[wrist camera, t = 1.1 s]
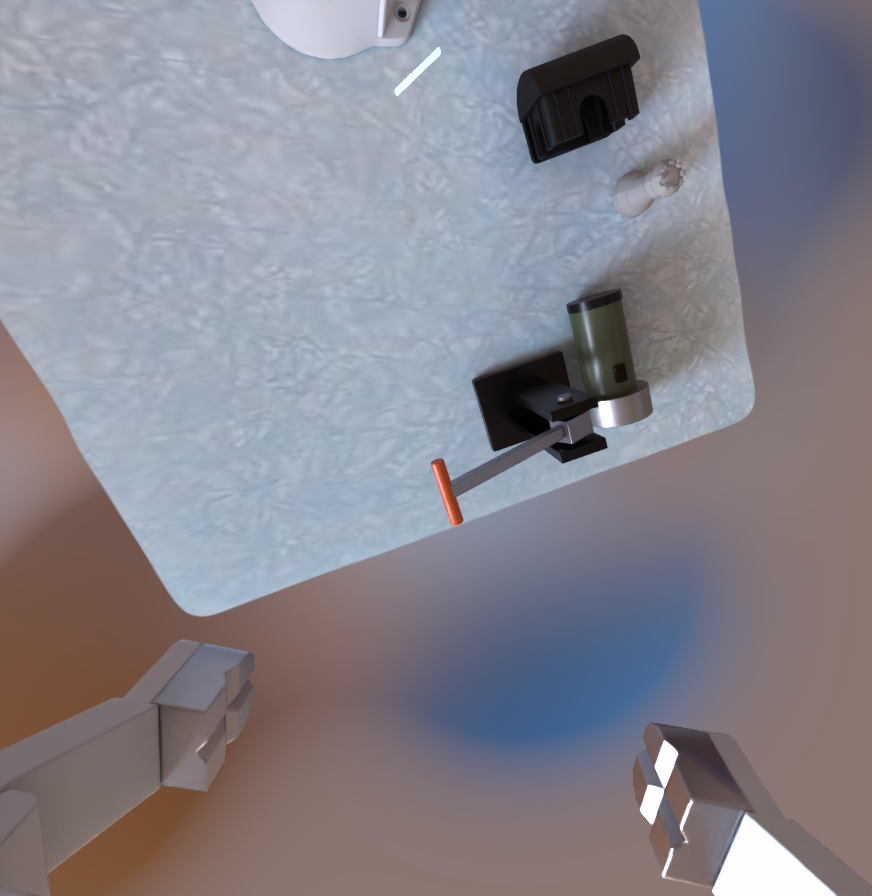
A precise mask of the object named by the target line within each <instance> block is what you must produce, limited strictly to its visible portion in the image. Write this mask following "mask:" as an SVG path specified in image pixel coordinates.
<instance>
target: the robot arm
mask: <svg viewBox="0 0 872 896" xmlns="http://www.w3.org/2000/svg"><path fill="white" fill-rule="evenodd" d="M251 1H252V3H253V5H254V7H255V9H256V11H257V12H258V14H259V15H260V17H261V18H262V20H263V21H264V23H265V24H266V25H267V26H268V27H269V29H270V30H271V31H272V32H273V33H274V34H275V35H276V36H277V37H278V38H280V39H281V40H282V41H283V42H285V43H286V44H287V45H289V46H290V47H292V48H294V49H295V50H297V51H299V52H302V53H304V54H306V55H309V56H313V57H316V58H322V59H340V58H345V57H349V56H352V55H355V54H357V53H359V52H362V51H364V50H366V49H368V48H371V47H374V46H383V47H398V46H402V45H404V44H405V43H407V41H408V40H409V38H410V35H411V32H412V29H413V26H414V23H415V20H416V16H417V13H418V10H419V7H420V4H421V1H422V0H251ZM399 12H404V13H405V14H406V17H405V18H401V17H399V15H398V13H399ZM440 52H441V50H440V48H439V47H438V48H437V49H436V50H435V51H434V52H433V53H432V54H431V55H430V56H429V57H428V58H427V59H426V60H425V61H424V62H423V63H422V64H421V65H420V66H418V67H417V68H416V69H415V70H414V71H413V72H412V73H411V74H410V75H409V76H408V77H407V78H406V79H405V80H404V81H403V82H402V83H401V84H400V85H399V86H398V87H397V88H396V89H395V94H396V95H397V96H398V95H399V94H400V93H401V92H402V91H403V90H404V89H405V88H406V87H407V86H408V85H409V84H410V83H411V82H412V81H413V80H414V79H415V78H416V77H417V76H418V75H419V74H420V73H422V72H423V71H424V70H425V69H426V68H427V67H428V66H429V65H430V64H431V63H432V62H433V61H434V60H435V59H436V58H437V57H438V56H439V55H440ZM253 670H254V655H253V654H252V653H251V652H246V651H242V650H237V649H231V648H227V647H222V646H217V645H212V644H207V643H206V644H203V643H199V642H194V641H189V640H184V639H182V640H180V641H178V642H176V643H174V644H173V646H172V647H171V648H170V649H169V650H168V651H167V652H166V653H165V654H164V655H163V656H162V657H161V658H160V659H159V660H158V661H157V662H156V663H155V665H154V666H153V667H152V668H151V669H150V670H149V671H148V672H147V673H146V674H145V675H144V676H143V677H142V678H141V680H139V681H138V682H137V684H136V685H135V686H134V687H133V688H132V689H131V690H130V691H129V692H128V693H127V694H126V695H125V696H124V697H123V698H117V697H114V698H112V699H110V700H108V701H105V702H103V703H102V704H99V705H97V706H95V707H92V708H90V709H88V710H86V711H84V712H82V713H79V714H77V715H75V716H73V717H71V718H69V719H67V720H64V721H62V722H60V723H58V724H56V725H54V726H52V727H49V728H47V729H45V730H43V731H41V732H39V733H36V734H34V735H32V736H30V737H28V738H25V739H23V740H21V741H19V742H17V743H15V744H12V745H10V746H8V747H6V748H4V749H2V750H0V896H51V895H50V888H49V881H48V873H49V872H51V871H52V870H53V869H54V868H56V867H57V866H58V865H60V864H61V863H62V862H64V861H65V860H66V859H68V858H69V857H70V856H71V855H73V854H74V853H75V852H77V851H78V850H79V849H81V848H82V847H83V846H85V845H86V844H87V843H88V842H90V841H91V840H92V839H94V838H95V837H96V836H98V835H99V834H100V833H102V832H103V831H104V830H106V829H107V828H108V827H110V826H111V825H112V824H113V823H115V822H116V821H117V820H119V819H120V818H121V817H123V816H124V815H125V814H127V813H128V812H129V811H130V810H132V809H133V808H134V807H136V806H137V805H138V804H139V803H141V802H142V801H143V800H145V799H146V798H148V797H149V796H150V795H151V794H153V793H154V792H155V791H157V790H158V789H159V788H160V787H161V784H162V785H167V786H174V787H180V788H187V789H194V790H200V791H207V790H208V788H209V786H210V784H211V783H212V781H213V779H214V777H215V775H216V774H217V772H218V770H219V769H220V767H221V765H222V764H223V762H224V760H225V759H226V745H227V744H228V743H230V742H231V741H233V740H235V739H236V738H238V736H239V734H240V732H241V730H242V728H243V727H244V725H245V722H246V720H247V717H248V714H249V712H250V708H251V704H252V699H253V685H252V684H251V683H250V681H249V679H248V678H249V676H250V674H251V673H252V671H253ZM643 739H644V742H645V744H646V747H647V748H646V749H645V750H643V751H642V752H641V753H639V754H638V755H637V757H636V761H635V764H634V768H633V786H634V792H635V798H636V801H637V804H638V806H639V810H640V812H641V813H642V814H643V815H644V816H645V817H646V819H647V820H648V821H649V822H650V823H651V824H652V828H651V831H650V834H649V839H650V842H651V845H652V848H653V851H654V853H655V856H656V859H657V862H658V865H659V868H660V871H661V874H662V876H663V878H667V879H671V880H676V881H680V882H684V883H689V884H693V885H698V886H703V887H707V888H711V889H713V890H712V892H713V893H714V895H715V896H872V885H871V884H869V883H868V882H867V881H866V880H865V879H863V878H862V877H861V876H860V875H858V874H857V873H856V872H855V871H854V870H853V869H851V868H850V867H849V866H848V865H847V864H846V863H844V862H843V861H842V860H841V859H839V858H838V857H837V856H836V855H835V854H834V853H832V852H831V851H830V850H829V849H828V848H826V847H825V846H824V845H823V844H822V843H820V842H819V841H818V840H817V839H816V838H814V837H813V836H812V835H811V834H810V833H808V832H807V831H806V830H805V829H804V828H803V827H801V826H800V825H799V824H798V823H796V822H795V821H794V820H790V819H785V818H784V816H783V814H782V813H781V811H780V810H779V808H778V806H777V805H776V803H775V802H774V800H773V798H772V797H771V796H770V794H769V792H768V791H767V789H766V788H765V786H764V785H763V783H762V781H761V780H760V778H759V776H758V775H757V773H756V772H755V770H754V769H753V767H752V765H751V764H750V762H749V761H748V759H747V758H746V756H745V755H744V753H743V752H742V750H741V748H740V747H739V745H738V744H737V742H736V741H735V740H734V739H733V738H732V737H731V736H730V735H727V734H721V733H715V732H708V731H699V730H694V729H688V728H682V727H676V726H669V725H664V724H658V723H652V722H651V723H650V724H649V725H648V726H647V727H646V729H645V732H644V735H643Z"/></svg>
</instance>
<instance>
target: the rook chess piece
mask: <svg viewBox="0 0 872 896" xmlns="http://www.w3.org/2000/svg"><path fill="white" fill-rule="evenodd" d="M682 165H683V164H682V163H681V162H680V161H678V162H676V161H675V160H671V159H666V160H662V161H661V162H660V163H658V164H657V165H656V167H655V168H653V169H652V170H651V171H649V173H648V174H647V173H645V172H640V171H636V172H632V173H629V174H626V175H624V176H623V177H622V178H620V179H619V180H618V182H617V183H616V185H615V186H614V189H613V194H612V201H613V206H614V208H615V209H616V211H617V212H618V213H619V214H620V215H621V216H623V217H628V218H631V217H635V216H638V215H639V214H642V213H643V212H644V211H645V210H647V209H648V208H649V207H650V205H651V203H652V202H653V200H654V198H660V197H663V196H664V197H667V196H671V195H673V194H674V193H675V192H677V191H678V189H679V188H680V186H681V185H682V183H683V182H684V180H682V179H683V176H684V175H686V172H685V170H682V169H681V166H682Z"/></svg>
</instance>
